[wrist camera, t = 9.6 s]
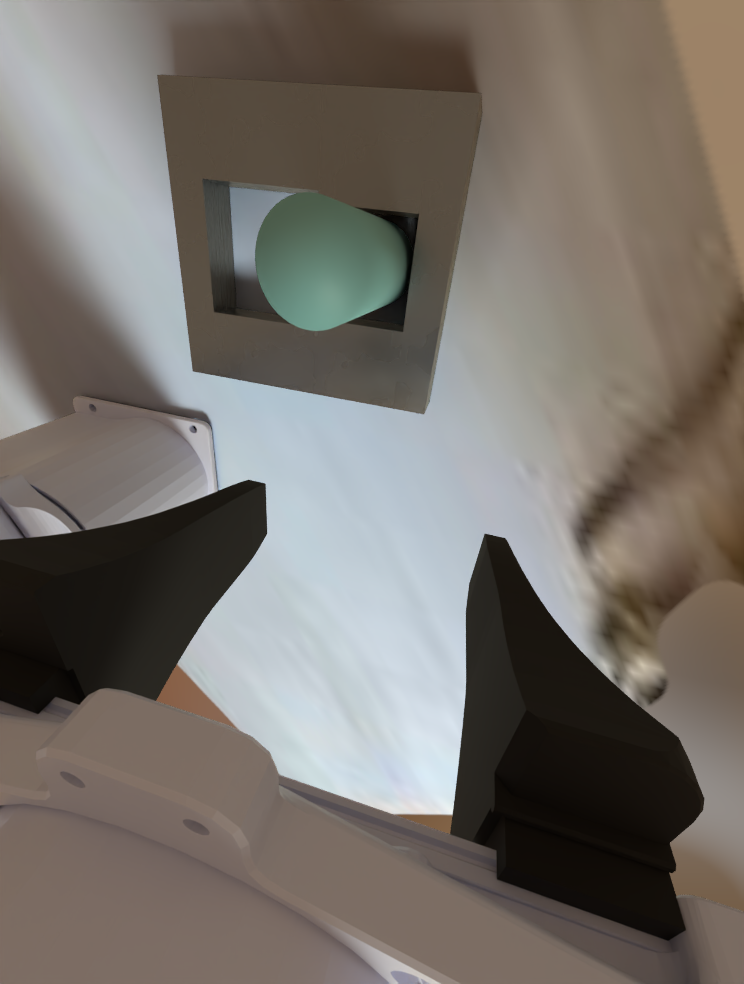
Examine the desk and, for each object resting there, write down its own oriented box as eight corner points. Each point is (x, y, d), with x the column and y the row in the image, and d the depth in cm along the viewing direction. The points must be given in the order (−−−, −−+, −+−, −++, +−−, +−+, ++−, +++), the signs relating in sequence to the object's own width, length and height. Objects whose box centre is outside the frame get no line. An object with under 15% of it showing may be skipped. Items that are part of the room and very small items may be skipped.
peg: (338, 300, 19) (257, 321, 13) (343, 215, 18) (252, 186, 11) (408, 311, 19) (362, 338, 12) (420, 223, 17) (375, 199, 10)
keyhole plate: (215, 362, 22) (192, 371, 21) (190, 93, 17) (157, 74, 15) (429, 401, 21) (424, 413, 19) (482, 112, 15) (481, 93, 13)
